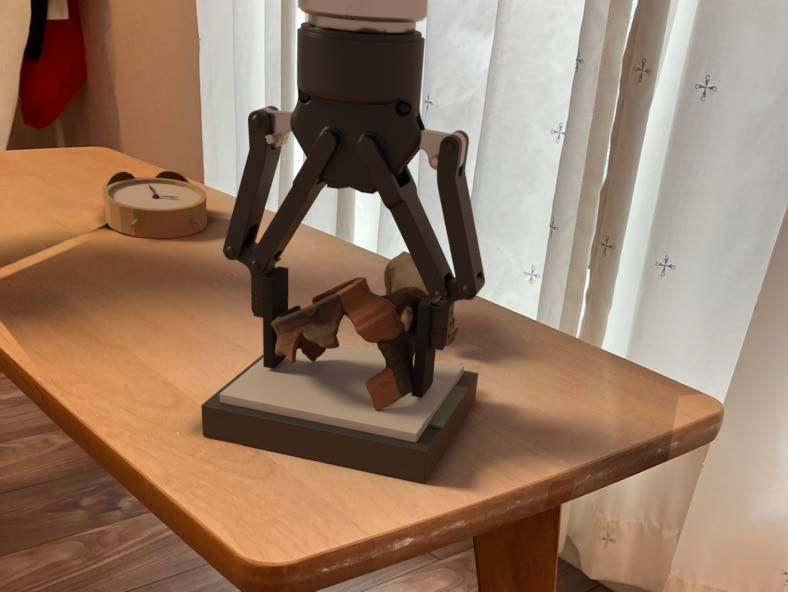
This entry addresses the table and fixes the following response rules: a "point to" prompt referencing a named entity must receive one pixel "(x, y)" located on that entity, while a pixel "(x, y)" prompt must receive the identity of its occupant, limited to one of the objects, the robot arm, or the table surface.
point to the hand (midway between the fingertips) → (347, 375)
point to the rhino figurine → (406, 283)
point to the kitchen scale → (341, 412)
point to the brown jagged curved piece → (371, 321)
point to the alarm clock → (154, 205)
